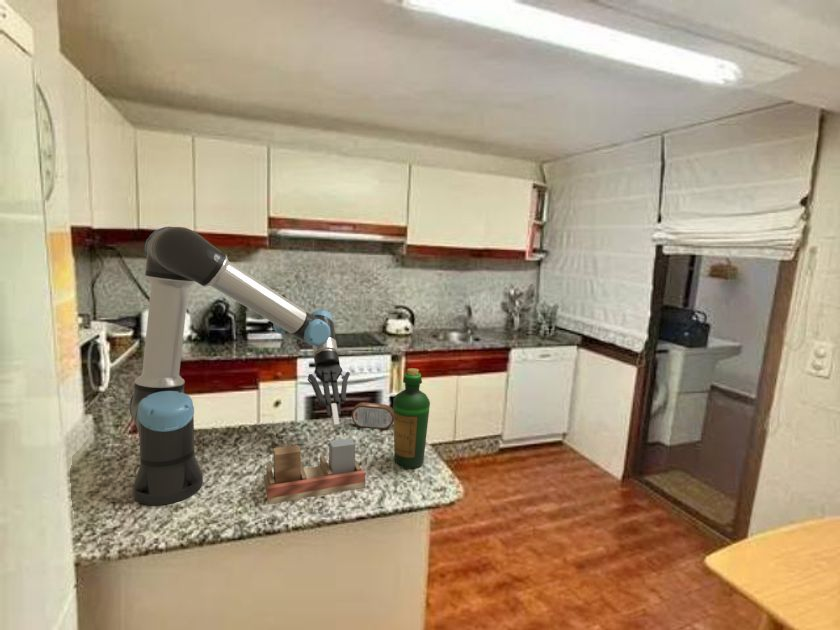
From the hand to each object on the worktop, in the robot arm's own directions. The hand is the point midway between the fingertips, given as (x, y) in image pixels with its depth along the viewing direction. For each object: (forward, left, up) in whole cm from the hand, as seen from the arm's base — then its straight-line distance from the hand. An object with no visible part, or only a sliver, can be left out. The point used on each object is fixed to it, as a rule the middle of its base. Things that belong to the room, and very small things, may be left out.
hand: (336, 426), depth 129 cm
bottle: (+20, -8, -11) cm, 24 cm away
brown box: (-15, -12, -9) cm, 21 cm away
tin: (+18, +20, -11) cm, 29 cm away
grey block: (-1, -11, -9) cm, 15 cm away
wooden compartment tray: (-8, -11, -11) cm, 17 cm away
